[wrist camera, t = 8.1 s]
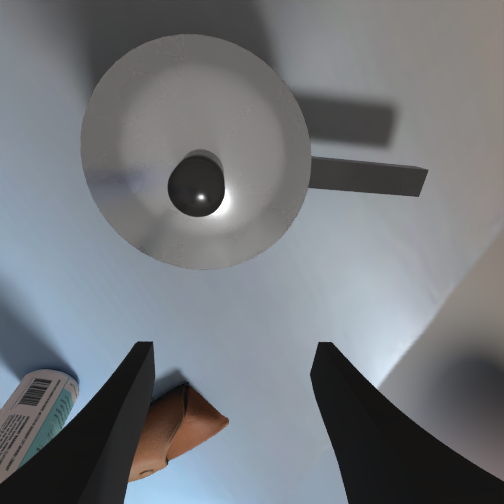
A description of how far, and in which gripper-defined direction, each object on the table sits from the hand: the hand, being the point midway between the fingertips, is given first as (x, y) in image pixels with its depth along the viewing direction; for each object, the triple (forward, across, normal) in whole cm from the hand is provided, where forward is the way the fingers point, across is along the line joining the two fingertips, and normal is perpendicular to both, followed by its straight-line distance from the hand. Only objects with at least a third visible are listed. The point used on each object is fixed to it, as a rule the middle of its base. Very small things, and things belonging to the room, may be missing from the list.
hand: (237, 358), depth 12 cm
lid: (+6, +2, -7) cm, 10 cm away
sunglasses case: (+11, +8, +22) cm, 26 cm away
